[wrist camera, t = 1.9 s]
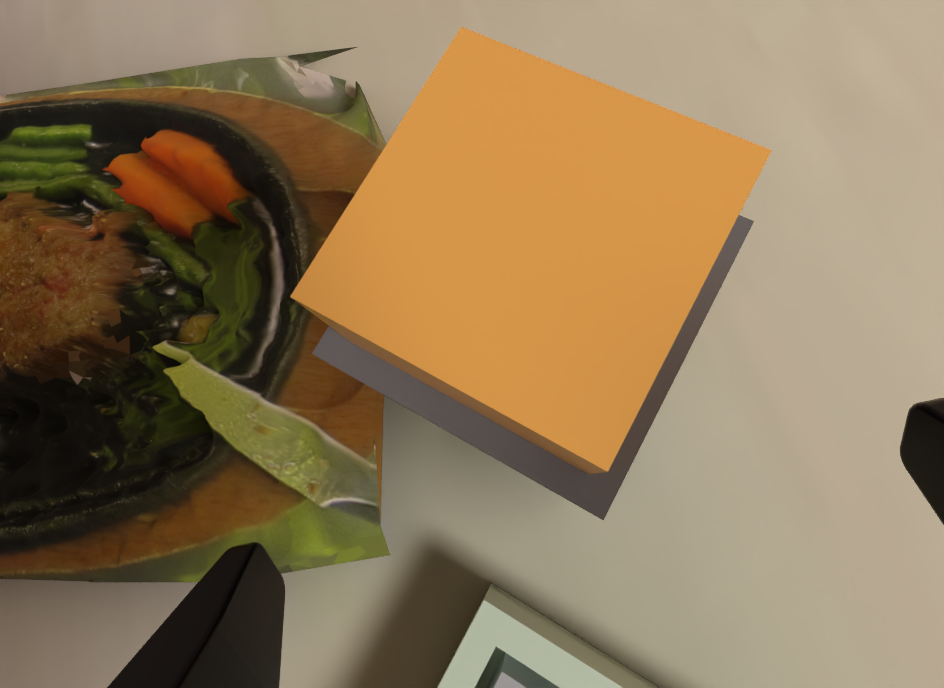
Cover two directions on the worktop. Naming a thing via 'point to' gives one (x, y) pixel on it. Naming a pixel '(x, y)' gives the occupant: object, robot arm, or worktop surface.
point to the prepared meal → (179, 325)
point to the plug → (533, 262)
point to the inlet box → (529, 653)
